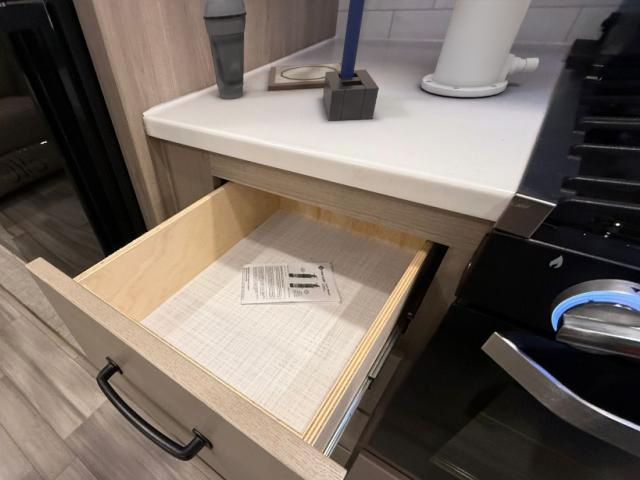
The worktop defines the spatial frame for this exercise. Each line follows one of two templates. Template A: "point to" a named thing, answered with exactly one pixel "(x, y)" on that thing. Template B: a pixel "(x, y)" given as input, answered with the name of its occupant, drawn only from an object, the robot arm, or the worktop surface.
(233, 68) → the beverage cup
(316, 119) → the worktop surface
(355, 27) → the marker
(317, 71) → the drawing board
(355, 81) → the block
